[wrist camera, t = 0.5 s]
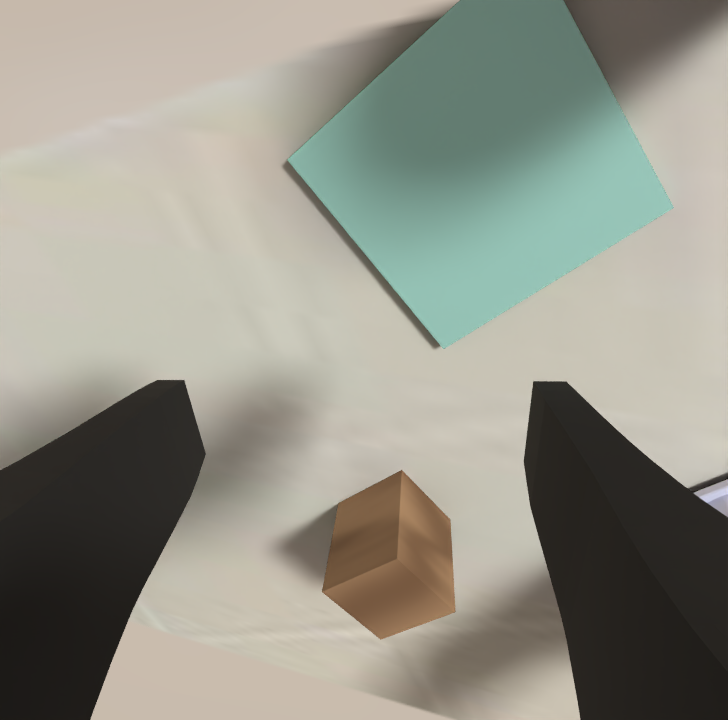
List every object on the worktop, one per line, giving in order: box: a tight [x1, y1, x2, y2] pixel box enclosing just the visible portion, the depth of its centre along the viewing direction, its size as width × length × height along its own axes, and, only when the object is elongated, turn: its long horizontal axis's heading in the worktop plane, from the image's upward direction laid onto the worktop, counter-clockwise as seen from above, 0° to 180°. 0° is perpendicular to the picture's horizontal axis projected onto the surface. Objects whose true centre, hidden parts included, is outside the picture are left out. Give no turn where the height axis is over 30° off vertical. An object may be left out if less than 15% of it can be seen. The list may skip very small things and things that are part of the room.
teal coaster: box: [288, 0, 674, 349], centre depth 17 cm, size 9×9×1 cm
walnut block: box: [322, 470, 455, 639], centre depth 24 cm, size 4×4×5 cm
